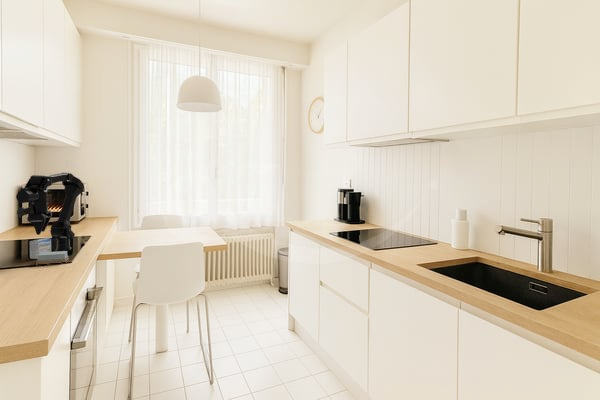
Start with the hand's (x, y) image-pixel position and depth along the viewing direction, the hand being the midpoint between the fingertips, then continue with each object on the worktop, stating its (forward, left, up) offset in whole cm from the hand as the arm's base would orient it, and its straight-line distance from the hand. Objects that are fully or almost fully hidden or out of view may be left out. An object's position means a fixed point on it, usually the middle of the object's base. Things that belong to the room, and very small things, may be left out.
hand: (40, 233), depth 158 cm
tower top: (+13, +7, -10) cm, 18 cm away
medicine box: (0, 0, -12) cm, 12 cm away
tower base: (+13, +7, -13) cm, 19 cm away
